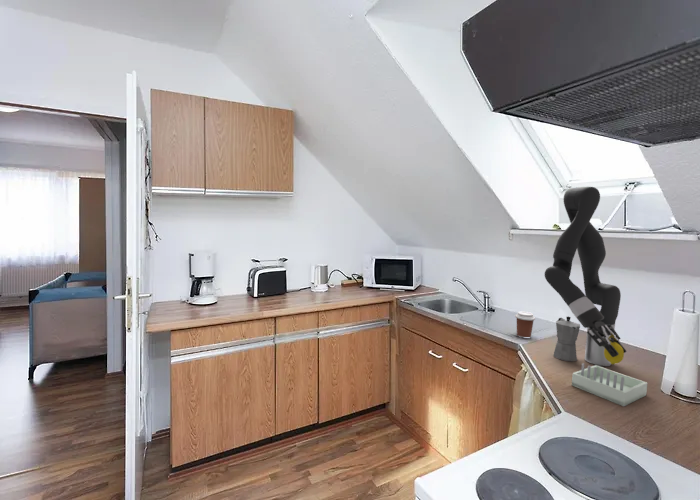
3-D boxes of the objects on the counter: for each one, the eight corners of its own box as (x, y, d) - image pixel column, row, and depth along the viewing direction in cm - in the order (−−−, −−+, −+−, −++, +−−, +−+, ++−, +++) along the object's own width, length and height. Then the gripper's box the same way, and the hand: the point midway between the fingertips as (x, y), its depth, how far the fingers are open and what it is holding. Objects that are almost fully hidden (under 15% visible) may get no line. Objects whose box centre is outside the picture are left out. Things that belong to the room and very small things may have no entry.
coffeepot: (584, 364, 146) (588, 321, 144) (559, 362, 147) (563, 320, 146) (567, 351, 161) (570, 312, 159) (545, 349, 162) (548, 310, 161)
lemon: (613, 368, 120) (615, 345, 120) (598, 361, 126) (601, 339, 125) (626, 367, 122) (629, 344, 121) (611, 360, 127) (614, 339, 126)
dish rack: (594, 376, 134) (596, 355, 134) (646, 395, 121) (648, 372, 120) (571, 385, 126) (573, 363, 126) (623, 406, 113) (626, 381, 112)
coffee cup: (537, 338, 177) (539, 315, 176) (522, 339, 175) (524, 315, 174) (525, 333, 186) (526, 310, 184) (509, 333, 183) (511, 311, 182)
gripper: (584, 308, 125) (620, 353, 116) (603, 304, 132) (638, 346, 123) (567, 319, 129) (600, 362, 120) (586, 315, 137) (619, 355, 128)
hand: (619, 354), depth 122 cm, fingers closed on lemon, 5 cm apart
